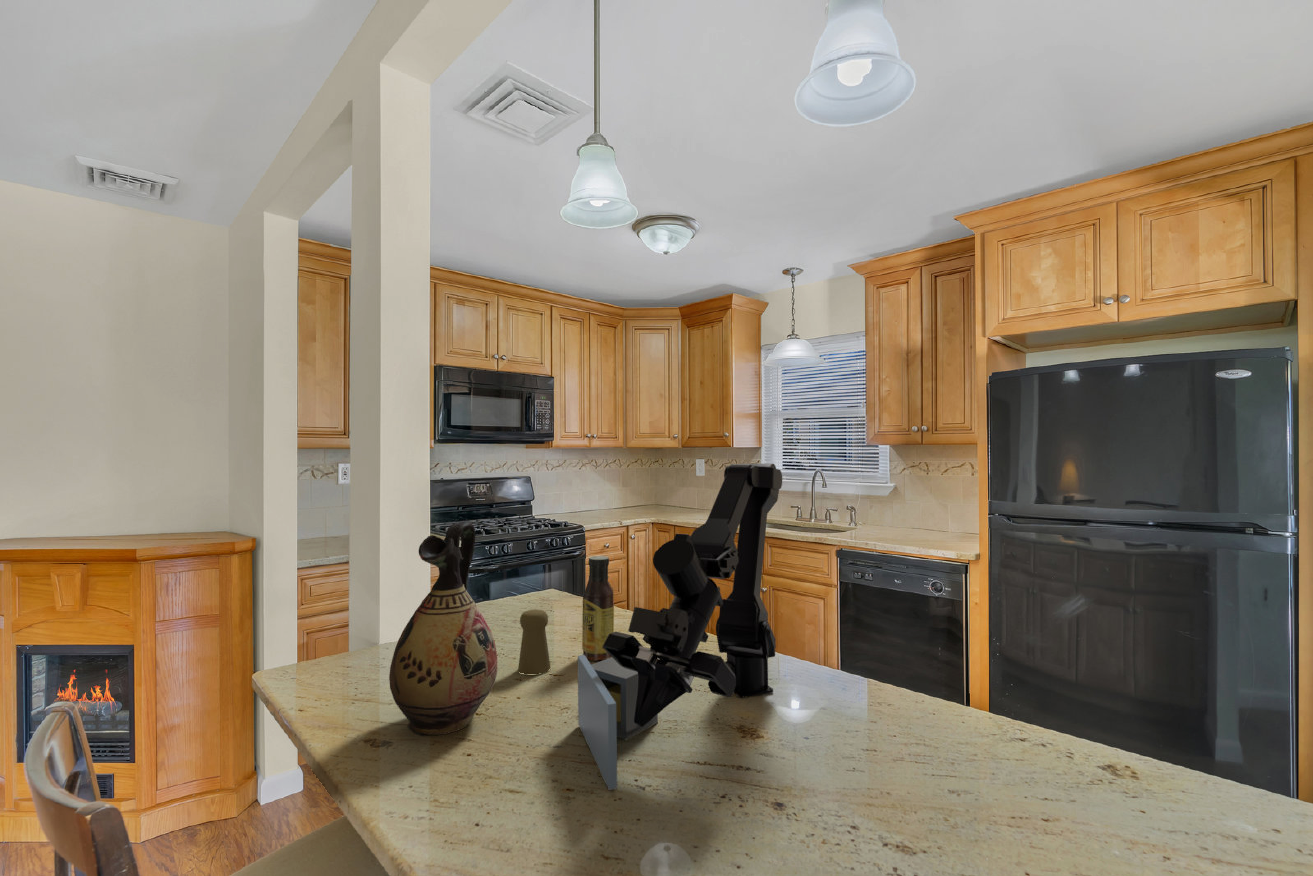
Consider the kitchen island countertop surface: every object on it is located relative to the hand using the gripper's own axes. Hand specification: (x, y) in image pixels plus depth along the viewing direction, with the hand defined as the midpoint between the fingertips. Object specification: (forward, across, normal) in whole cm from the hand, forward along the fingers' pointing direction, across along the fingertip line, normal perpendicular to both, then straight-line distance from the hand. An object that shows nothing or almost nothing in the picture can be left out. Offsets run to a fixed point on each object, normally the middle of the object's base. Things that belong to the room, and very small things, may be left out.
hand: (637, 724), depth 76 cm
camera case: (-2, -12, +12) cm, 17 cm away
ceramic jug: (+8, -34, +1) cm, 35 cm away
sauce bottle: (-16, -36, +26) cm, 47 cm away
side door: (+4, -8, +5) cm, 10 cm away
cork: (-7, -41, +17) cm, 45 cm away
